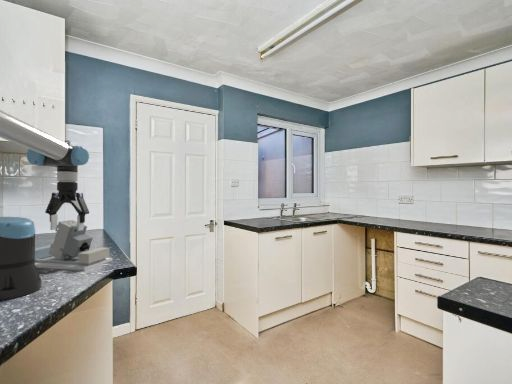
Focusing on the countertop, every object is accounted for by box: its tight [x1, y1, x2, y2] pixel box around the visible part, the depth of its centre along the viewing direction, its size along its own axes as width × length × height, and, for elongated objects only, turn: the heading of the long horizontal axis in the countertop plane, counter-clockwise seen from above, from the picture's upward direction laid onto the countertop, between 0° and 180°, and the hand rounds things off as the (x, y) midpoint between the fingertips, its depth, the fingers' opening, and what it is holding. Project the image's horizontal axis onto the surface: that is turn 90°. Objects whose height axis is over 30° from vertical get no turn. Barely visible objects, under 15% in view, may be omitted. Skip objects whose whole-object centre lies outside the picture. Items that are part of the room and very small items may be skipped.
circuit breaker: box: [48, 219, 93, 261], centre depth 122 cm, size 8×14×15 cm, turn 79°
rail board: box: [35, 244, 113, 272], centre depth 123 cm, size 16×32×6 cm, turn 79°
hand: (67, 230), depth 122 cm, fingers open, 13 cm apart
